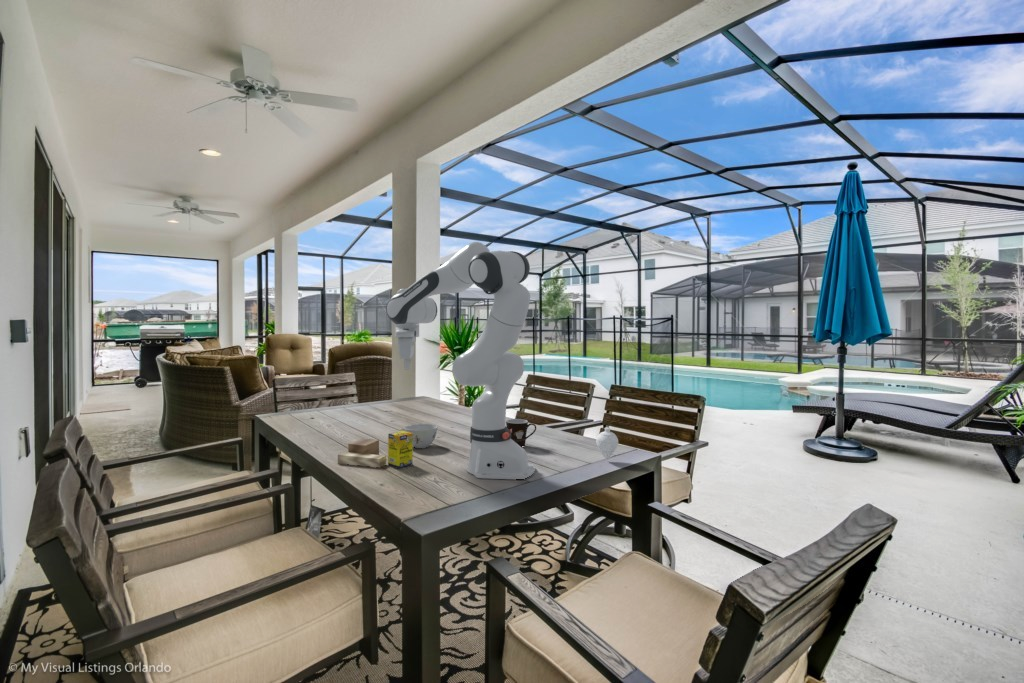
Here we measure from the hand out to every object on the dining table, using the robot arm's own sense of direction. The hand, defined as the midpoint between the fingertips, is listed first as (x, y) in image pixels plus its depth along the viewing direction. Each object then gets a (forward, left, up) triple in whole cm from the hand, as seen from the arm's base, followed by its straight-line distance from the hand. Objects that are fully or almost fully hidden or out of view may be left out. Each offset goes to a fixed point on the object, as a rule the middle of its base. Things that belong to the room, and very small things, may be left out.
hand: (407, 369), depth 174 cm
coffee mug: (-39, -19, -31) cm, 53 cm away
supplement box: (-6, +16, -31) cm, 35 cm away
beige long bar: (+7, +19, -31) cm, 37 cm away
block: (+10, +13, -31) cm, 35 cm away
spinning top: (-73, -9, -31) cm, 80 cm away
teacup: (-1, -7, -31) cm, 32 cm away
